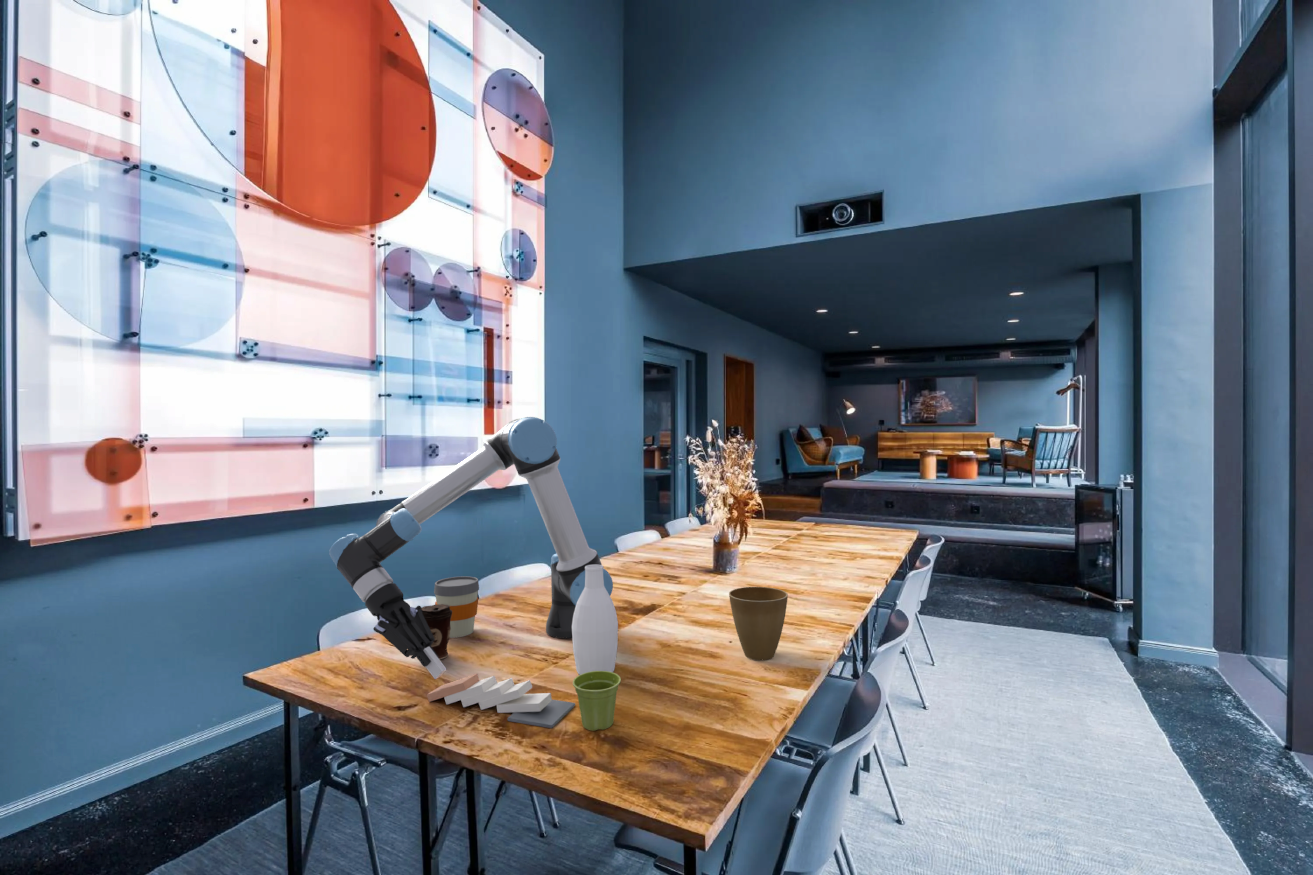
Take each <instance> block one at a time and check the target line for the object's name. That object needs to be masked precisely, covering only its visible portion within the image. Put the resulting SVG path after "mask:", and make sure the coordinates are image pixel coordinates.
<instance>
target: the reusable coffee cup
mask: <svg viewBox="0 0 1313 875" xmlns="http://www.w3.org/2000/svg"><path fill="white" fill-rule="evenodd" d="M479 590H480V582H479V579H478V578H477V577H475V576H466V575H465V576H464V575H462V576H453V577H446V578H442V579H439V580H437V581H436V582H434V590H433V594H434V595H435V602H434V603H435V604H434V605H439V604H446V605H449V606H450V610H452V616H451V621H450V625H451V631H450V639H451V638H452V639H453V638H462V637H463V638H464V637H466V636H469V635H471V634H472V633H474V629H475V628H474V627H475V620H476V615H477V614H478V608H479V607H478V606H479V597H478V592H479Z"/></svg>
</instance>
